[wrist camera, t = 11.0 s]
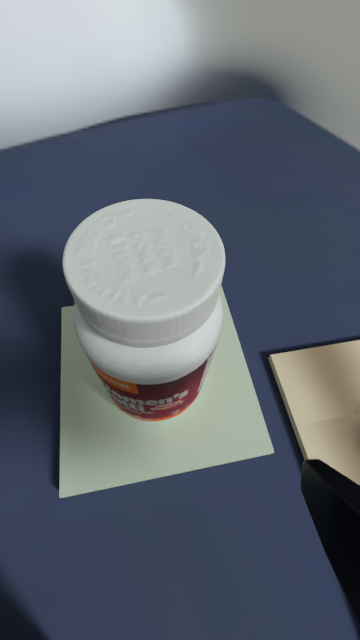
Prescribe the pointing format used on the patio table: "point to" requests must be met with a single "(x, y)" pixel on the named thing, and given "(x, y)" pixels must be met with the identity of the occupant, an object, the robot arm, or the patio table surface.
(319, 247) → the patio table surface
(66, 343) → the green mat
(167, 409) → the pill bottle
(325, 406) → the collar plate
